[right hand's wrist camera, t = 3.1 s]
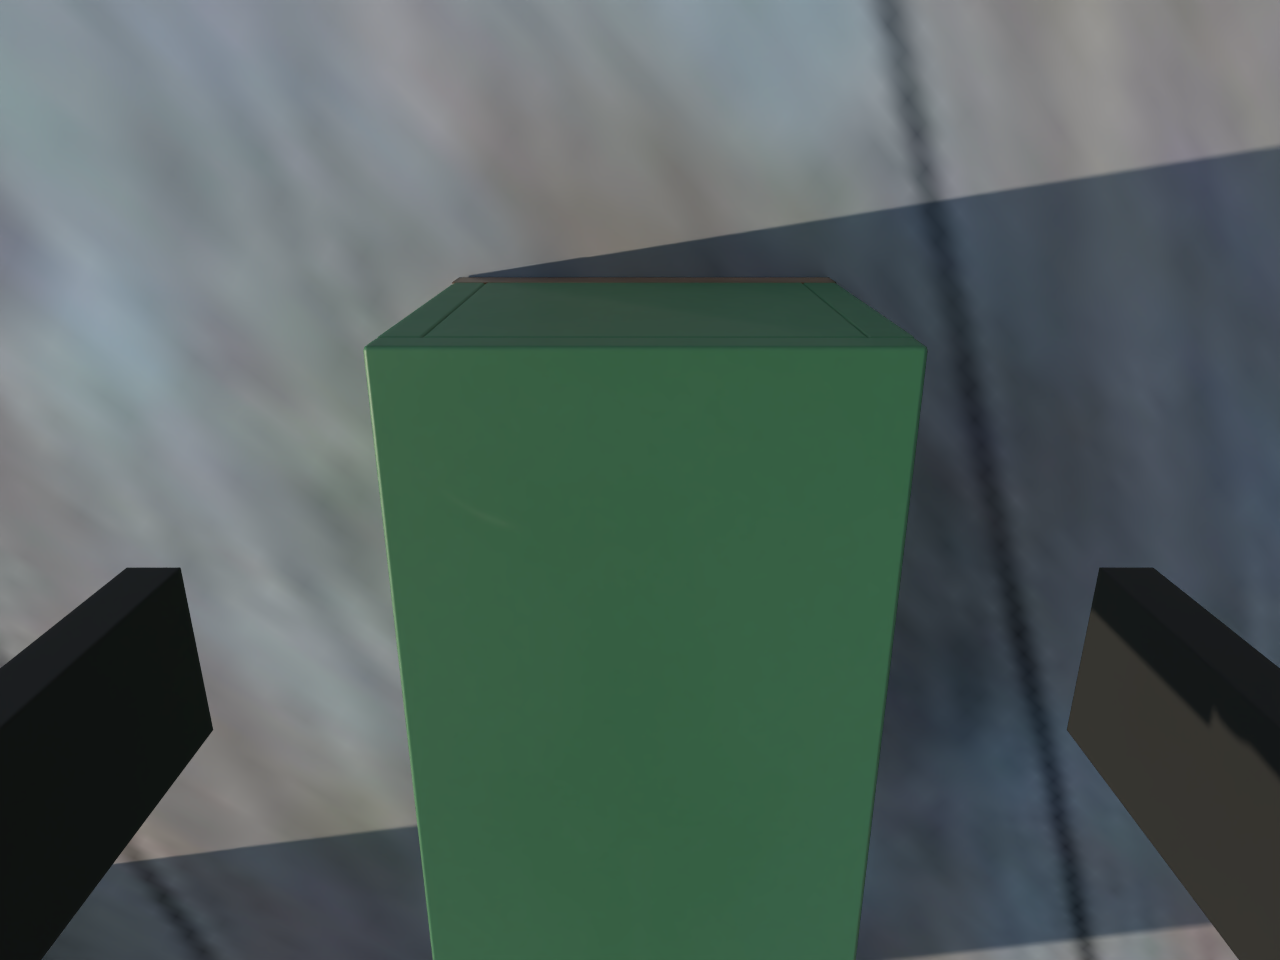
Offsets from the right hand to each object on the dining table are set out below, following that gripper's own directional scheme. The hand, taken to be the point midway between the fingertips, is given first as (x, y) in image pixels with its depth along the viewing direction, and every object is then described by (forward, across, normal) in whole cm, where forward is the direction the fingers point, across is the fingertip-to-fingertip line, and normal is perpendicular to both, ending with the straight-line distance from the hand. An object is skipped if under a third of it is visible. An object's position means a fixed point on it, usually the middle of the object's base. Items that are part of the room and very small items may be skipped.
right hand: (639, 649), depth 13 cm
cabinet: (+14, 0, -5) cm, 15 cm away
